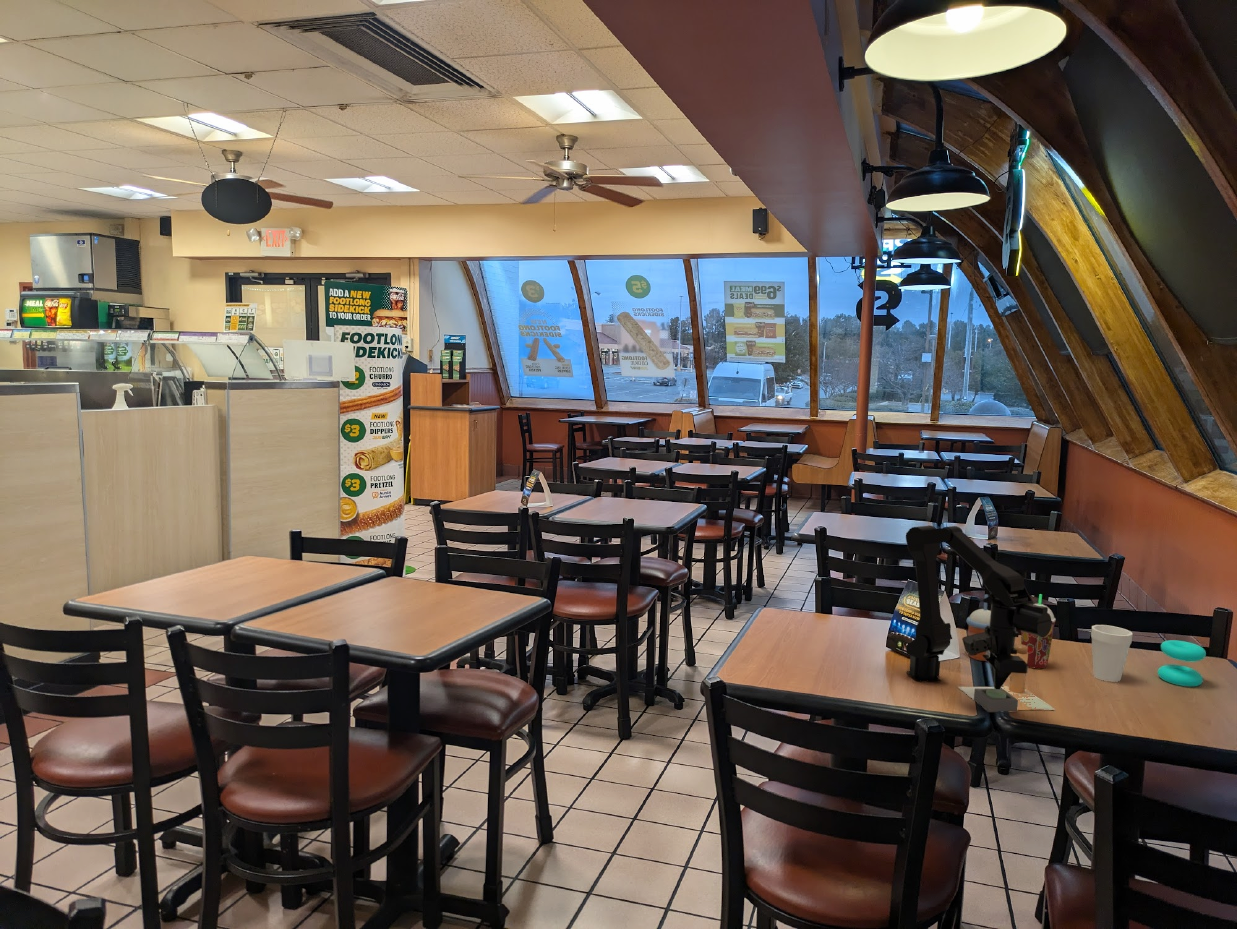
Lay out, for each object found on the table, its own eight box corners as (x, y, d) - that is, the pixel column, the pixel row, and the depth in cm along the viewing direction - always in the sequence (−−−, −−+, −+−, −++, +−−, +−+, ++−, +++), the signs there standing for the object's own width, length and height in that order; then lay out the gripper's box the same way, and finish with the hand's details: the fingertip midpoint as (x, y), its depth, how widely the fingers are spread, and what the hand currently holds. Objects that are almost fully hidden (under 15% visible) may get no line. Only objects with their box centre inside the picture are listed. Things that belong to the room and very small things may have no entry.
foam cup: (1082, 677, 227) (1087, 629, 225) (1091, 668, 233) (1096, 622, 232) (1122, 687, 220) (1128, 638, 219) (1131, 678, 227) (1136, 631, 226)
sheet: (988, 712, 200) (989, 699, 200) (957, 687, 216) (958, 675, 215) (1057, 712, 202) (1058, 700, 201) (1021, 687, 217) (1022, 676, 217)
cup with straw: (995, 665, 233) (1001, 601, 231) (960, 658, 238) (966, 595, 236) (1000, 656, 241) (1006, 594, 239) (966, 649, 246) (972, 588, 244)
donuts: (1165, 636, 232) (1209, 645, 226) (1161, 671, 233) (1205, 681, 227) (1157, 644, 225) (1203, 653, 218) (1153, 680, 226) (1198, 691, 219)
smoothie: (1054, 672, 230) (1061, 599, 227) (1021, 668, 231) (1028, 596, 229) (1045, 661, 238) (1052, 591, 235) (1013, 658, 239) (1020, 589, 237)
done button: (991, 707, 202) (992, 695, 201) (981, 700, 206) (982, 688, 206) (1008, 707, 202) (1010, 695, 202) (999, 700, 206) (1000, 688, 206)
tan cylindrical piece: (1013, 693, 212) (1017, 648, 210) (1005, 687, 215) (1009, 643, 214) (1027, 693, 212) (1031, 648, 211) (1019, 687, 216) (1023, 643, 214)
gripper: (955, 611, 212) (950, 672, 213) (980, 635, 193) (974, 701, 195) (1002, 614, 211) (996, 675, 212) (1031, 638, 192) (1025, 704, 194)
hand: (996, 688), depth 203 cm, fingers closed
